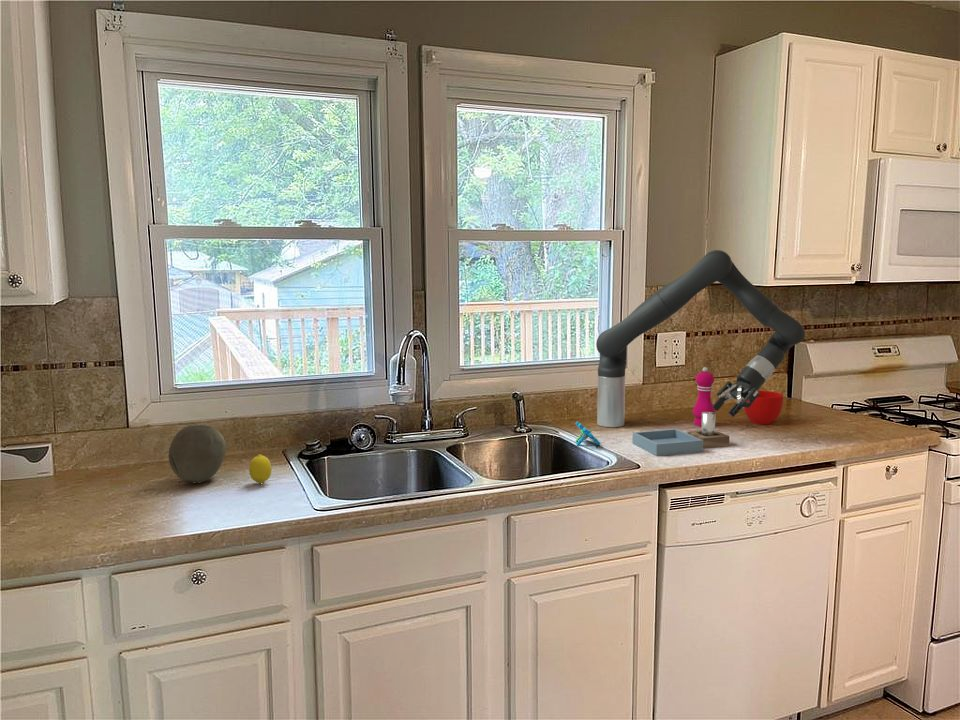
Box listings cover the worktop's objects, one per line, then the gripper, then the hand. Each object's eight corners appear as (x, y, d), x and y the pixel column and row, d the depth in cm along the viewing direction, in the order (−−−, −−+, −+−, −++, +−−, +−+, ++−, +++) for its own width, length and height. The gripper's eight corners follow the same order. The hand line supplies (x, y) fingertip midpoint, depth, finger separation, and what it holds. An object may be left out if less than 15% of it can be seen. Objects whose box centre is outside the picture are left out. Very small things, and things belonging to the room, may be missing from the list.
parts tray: (632, 443, 220) (632, 432, 220) (675, 439, 224) (676, 428, 224) (656, 456, 206) (656, 444, 205) (702, 451, 210) (702, 440, 209)
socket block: (686, 440, 222) (687, 431, 222) (712, 438, 225) (712, 429, 224) (703, 448, 214) (703, 438, 213) (729, 445, 216) (729, 436, 216)
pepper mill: (691, 426, 241) (693, 368, 239) (693, 421, 248) (695, 365, 245) (713, 427, 239) (715, 369, 236) (715, 423, 245) (717, 366, 243)
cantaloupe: (223, 486, 183) (220, 430, 181) (165, 491, 181) (161, 434, 178) (231, 471, 197) (227, 418, 195) (176, 475, 194) (172, 421, 192)
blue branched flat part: (605, 444, 214) (581, 421, 214) (591, 458, 214) (567, 435, 213) (597, 439, 225) (575, 418, 225) (584, 453, 225) (562, 431, 224)
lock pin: (698, 442, 221) (699, 412, 219) (709, 441, 222) (710, 411, 220) (705, 445, 217) (706, 415, 215) (717, 444, 218) (718, 414, 216)
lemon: (252, 481, 188) (251, 452, 187) (274, 480, 188) (272, 451, 187) (247, 487, 182) (246, 457, 181) (269, 487, 183) (268, 457, 182)
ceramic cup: (784, 418, 251) (786, 390, 250) (779, 428, 237) (781, 399, 235) (746, 414, 258) (747, 387, 256) (739, 424, 243) (740, 395, 241)
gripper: (734, 362, 226) (702, 399, 225) (763, 368, 213) (728, 408, 211) (748, 377, 228) (716, 414, 227) (777, 385, 215) (743, 424, 213)
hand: (722, 411), depth 219 cm, fingers open, 8 cm apart
